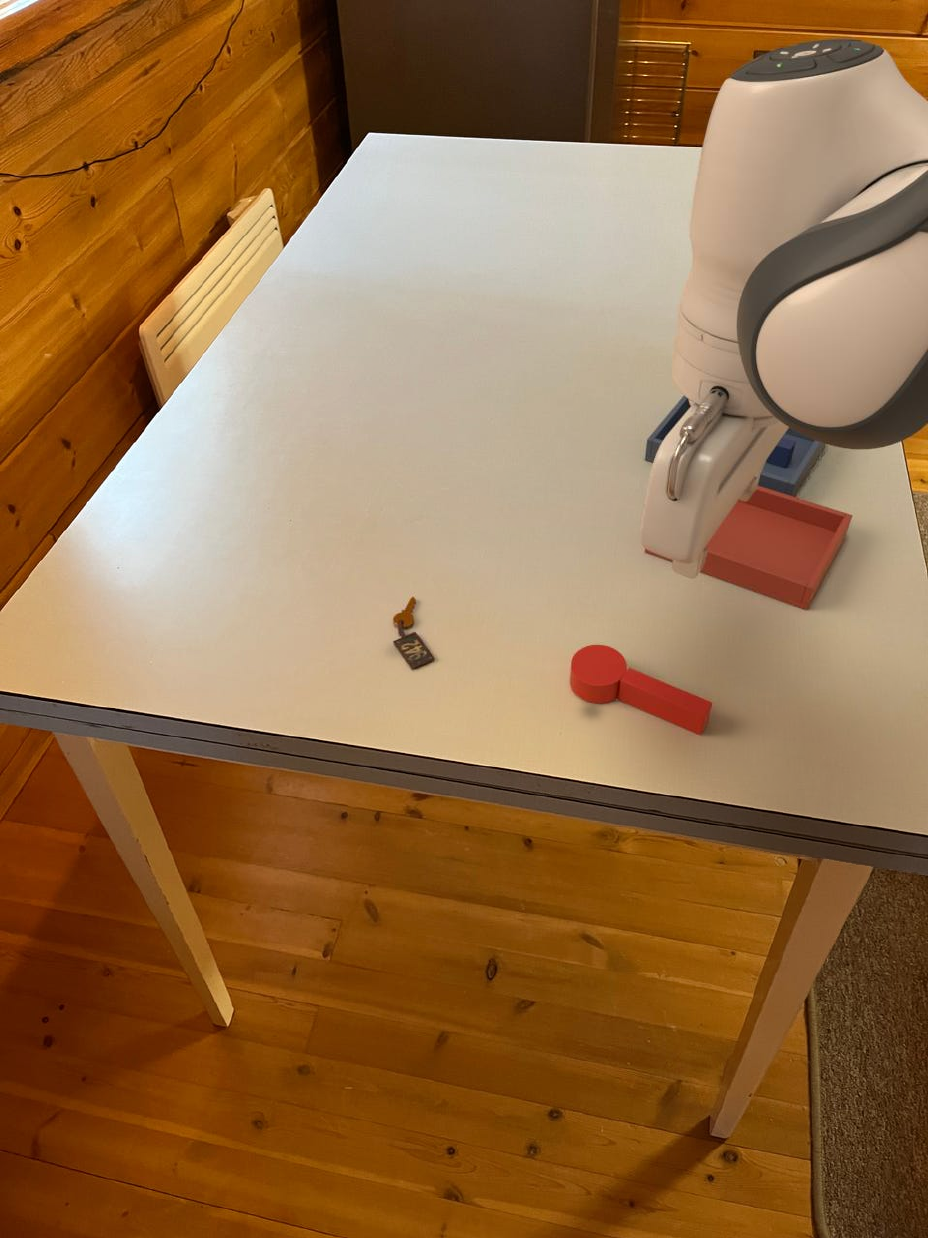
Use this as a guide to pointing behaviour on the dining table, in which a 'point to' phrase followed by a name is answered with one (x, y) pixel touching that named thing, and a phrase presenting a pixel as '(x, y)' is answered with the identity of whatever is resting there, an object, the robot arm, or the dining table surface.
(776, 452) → the blue spoon
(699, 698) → the red spoon
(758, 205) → the robot arm
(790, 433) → the blue tray
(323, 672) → the dining table surface
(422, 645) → the key tag
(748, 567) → the red tray
